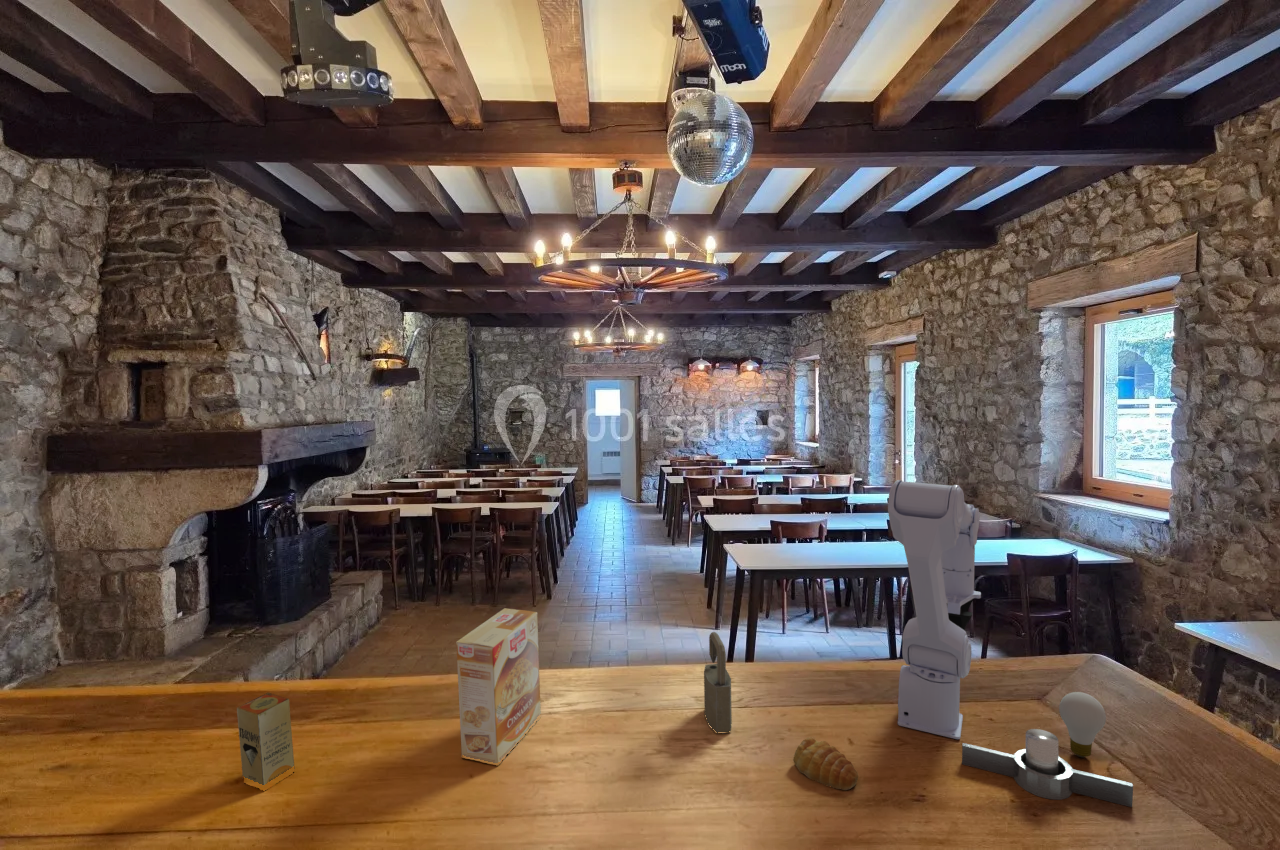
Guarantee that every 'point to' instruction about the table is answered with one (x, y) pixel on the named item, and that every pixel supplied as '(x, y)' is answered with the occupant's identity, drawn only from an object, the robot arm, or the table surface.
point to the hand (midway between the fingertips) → (955, 638)
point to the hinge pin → (1042, 751)
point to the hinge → (1048, 776)
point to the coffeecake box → (498, 683)
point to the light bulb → (1082, 720)
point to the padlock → (717, 687)
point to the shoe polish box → (265, 738)
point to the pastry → (825, 764)
